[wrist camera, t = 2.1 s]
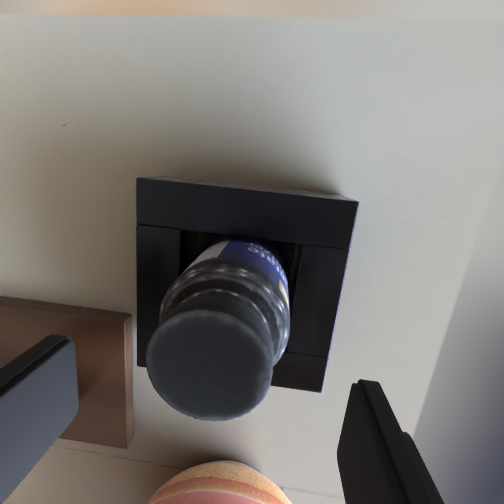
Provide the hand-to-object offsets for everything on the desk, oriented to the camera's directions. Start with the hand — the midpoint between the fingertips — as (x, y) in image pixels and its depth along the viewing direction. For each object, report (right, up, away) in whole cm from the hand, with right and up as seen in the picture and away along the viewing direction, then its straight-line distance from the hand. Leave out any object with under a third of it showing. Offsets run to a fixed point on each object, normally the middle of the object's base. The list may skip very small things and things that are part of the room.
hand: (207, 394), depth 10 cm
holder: (+1, +3, +11) cm, 12 cm away
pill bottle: (+1, +3, +12) cm, 12 cm away
